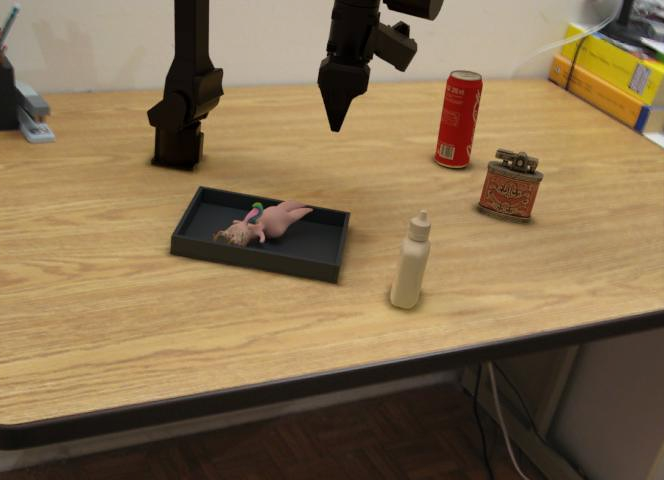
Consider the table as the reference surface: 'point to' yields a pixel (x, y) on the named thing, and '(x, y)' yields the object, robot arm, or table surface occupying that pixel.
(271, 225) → the rabbit figure
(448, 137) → the beverage can
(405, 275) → the eye dropper bottle
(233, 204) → the desk tray
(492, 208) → the lighter
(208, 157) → the table surface
